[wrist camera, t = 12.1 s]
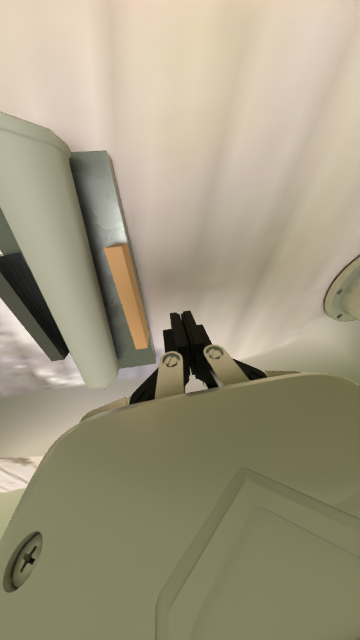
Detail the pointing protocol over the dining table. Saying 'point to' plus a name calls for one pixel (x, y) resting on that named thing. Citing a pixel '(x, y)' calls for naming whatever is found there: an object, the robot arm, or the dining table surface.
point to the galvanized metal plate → (102, 231)
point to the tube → (55, 242)
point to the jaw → (128, 292)
